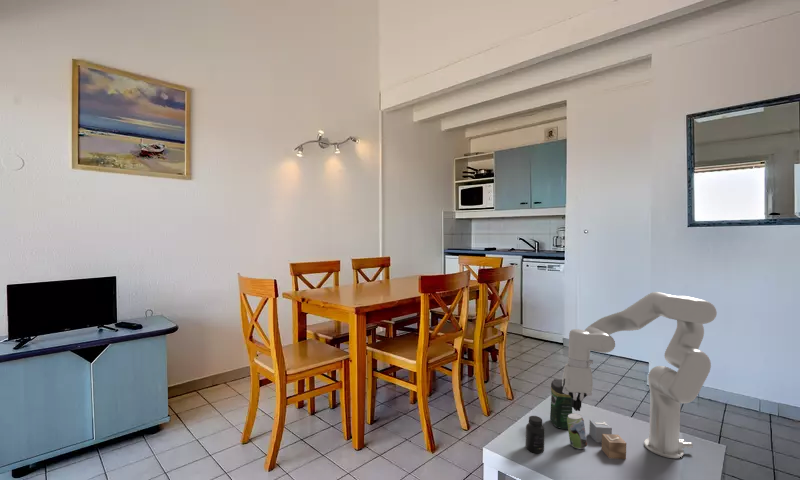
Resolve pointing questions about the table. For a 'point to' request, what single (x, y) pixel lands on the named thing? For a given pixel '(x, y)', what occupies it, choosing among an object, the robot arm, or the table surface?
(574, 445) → the beverage can
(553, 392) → the coffee jar
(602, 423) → the slate digit block
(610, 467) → the table surface
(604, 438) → the walnut digit block
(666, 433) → the robot arm
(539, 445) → the supplement bottle
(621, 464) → the table surface
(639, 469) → the table surface
